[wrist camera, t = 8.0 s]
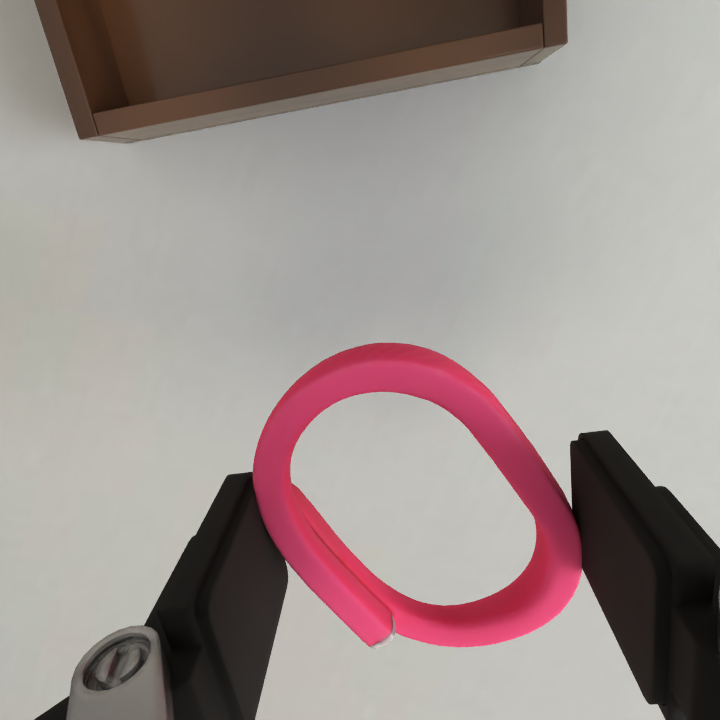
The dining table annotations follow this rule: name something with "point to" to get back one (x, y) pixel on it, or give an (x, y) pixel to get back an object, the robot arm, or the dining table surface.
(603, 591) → the robot arm
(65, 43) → the walnut tray
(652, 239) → the dining table surface
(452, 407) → the fitness band
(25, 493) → the dining table surface
